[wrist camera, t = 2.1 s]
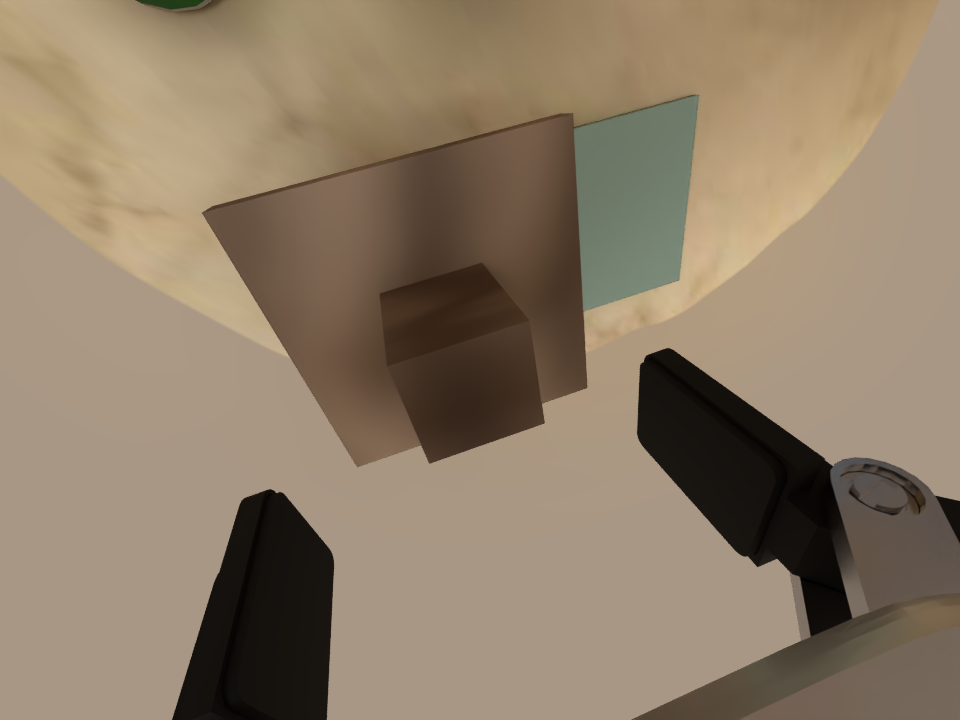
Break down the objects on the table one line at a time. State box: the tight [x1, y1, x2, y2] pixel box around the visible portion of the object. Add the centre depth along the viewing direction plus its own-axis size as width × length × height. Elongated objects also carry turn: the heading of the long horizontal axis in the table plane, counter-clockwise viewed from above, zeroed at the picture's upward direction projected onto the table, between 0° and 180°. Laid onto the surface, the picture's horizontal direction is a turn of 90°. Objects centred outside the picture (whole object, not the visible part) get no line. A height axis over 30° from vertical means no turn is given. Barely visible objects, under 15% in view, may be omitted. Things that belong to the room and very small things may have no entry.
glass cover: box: [202, 114, 587, 467], centre depth 14 cm, size 12×12×6 cm
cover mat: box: [574, 95, 699, 311], centre depth 32 cm, size 15×15×1 cm
